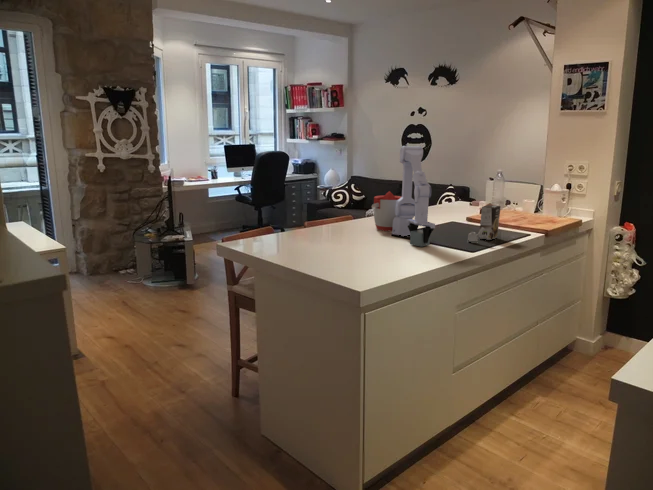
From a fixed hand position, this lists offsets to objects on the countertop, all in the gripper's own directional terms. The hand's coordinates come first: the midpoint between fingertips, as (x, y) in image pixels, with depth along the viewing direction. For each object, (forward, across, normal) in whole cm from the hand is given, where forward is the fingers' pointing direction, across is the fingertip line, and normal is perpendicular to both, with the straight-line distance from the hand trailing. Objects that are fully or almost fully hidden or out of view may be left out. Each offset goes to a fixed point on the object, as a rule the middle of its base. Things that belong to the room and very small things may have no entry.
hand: (419, 241), depth 232 cm
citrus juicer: (+2, -35, +16) cm, 39 cm away
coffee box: (+2, +11, +39) cm, 41 cm away
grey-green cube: (+1, 0, 0) cm, 1 cm away
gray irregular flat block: (+2, +13, +25) cm, 28 cm away
